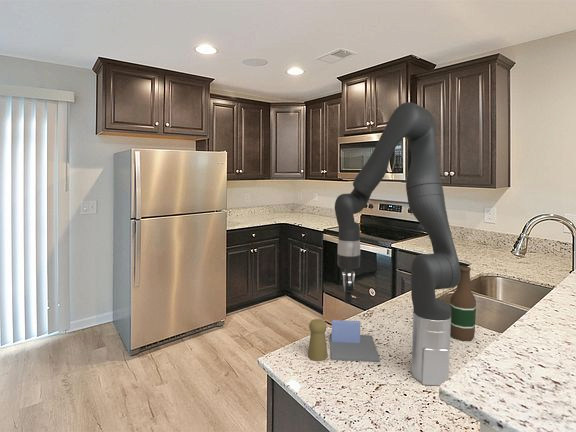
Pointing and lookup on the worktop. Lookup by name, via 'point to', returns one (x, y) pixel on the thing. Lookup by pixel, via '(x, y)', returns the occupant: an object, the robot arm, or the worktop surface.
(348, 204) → the robot arm
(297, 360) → the worktop surface
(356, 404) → the worktop surface
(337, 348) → the mat
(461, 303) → the beer bottle
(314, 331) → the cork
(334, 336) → the card deck
